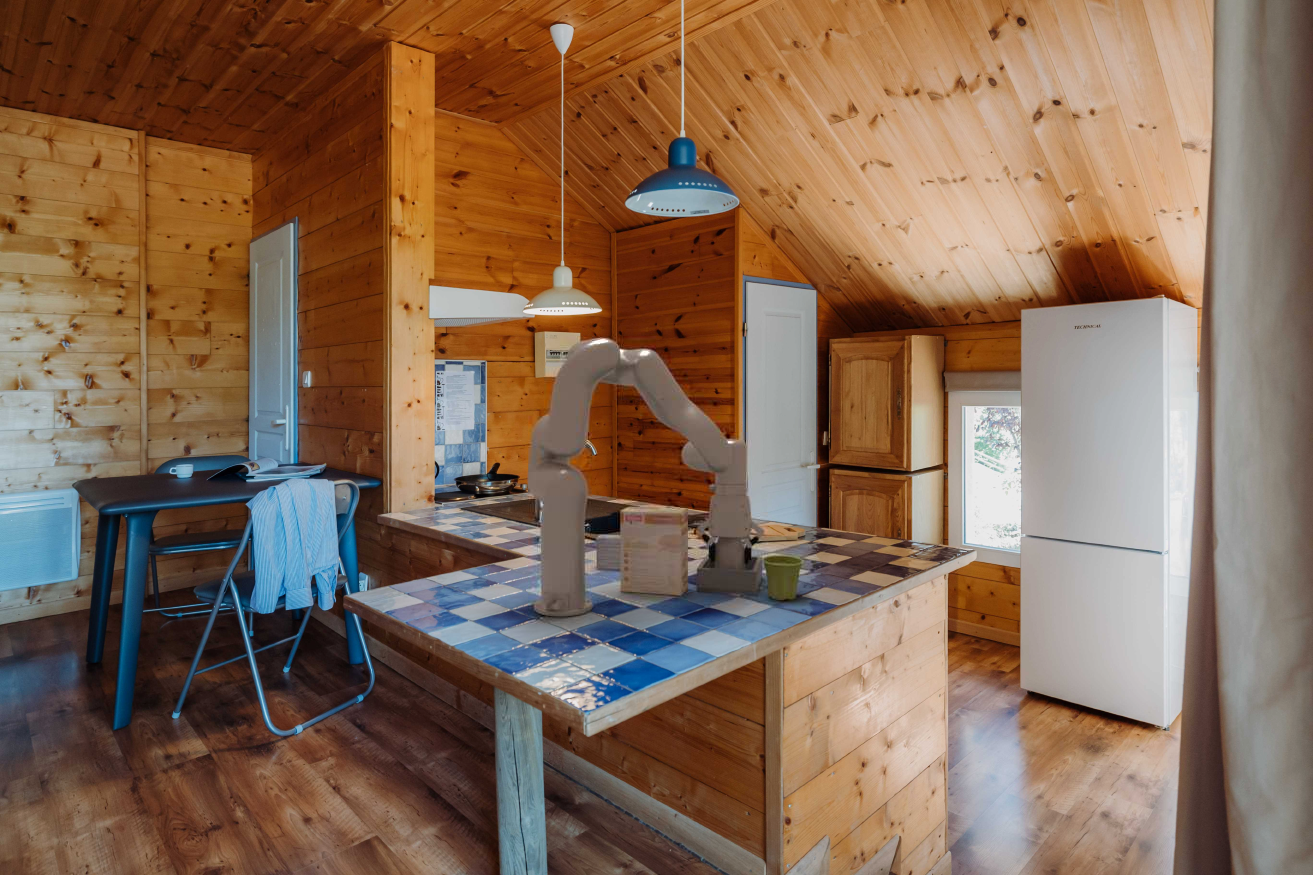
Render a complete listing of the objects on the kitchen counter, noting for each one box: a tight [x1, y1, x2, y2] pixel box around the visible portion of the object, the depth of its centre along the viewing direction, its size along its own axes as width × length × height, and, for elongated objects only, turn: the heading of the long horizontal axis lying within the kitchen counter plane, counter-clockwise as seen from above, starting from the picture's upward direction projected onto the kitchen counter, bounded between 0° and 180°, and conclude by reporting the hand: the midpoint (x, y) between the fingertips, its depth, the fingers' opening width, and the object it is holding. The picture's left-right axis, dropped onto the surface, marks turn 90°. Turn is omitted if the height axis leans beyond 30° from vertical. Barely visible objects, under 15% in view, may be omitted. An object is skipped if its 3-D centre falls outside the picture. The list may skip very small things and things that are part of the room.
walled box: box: [696, 553, 763, 596], centre depth 182 cm, size 16×14×6 cm
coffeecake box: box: [619, 506, 689, 597], centre depth 177 cm, size 15×7×20 cm, turn 74°
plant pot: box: [762, 554, 805, 601], centre depth 171 cm, size 9×9×9 cm
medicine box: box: [595, 534, 621, 571], centre depth 199 cm, size 8×4×9 cm, turn 84°
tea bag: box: [715, 537, 745, 570], centre depth 182 cm, size 4×7×10 cm, turn 40°
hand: (729, 561), depth 182 cm, fingers closed on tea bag, 7 cm apart
